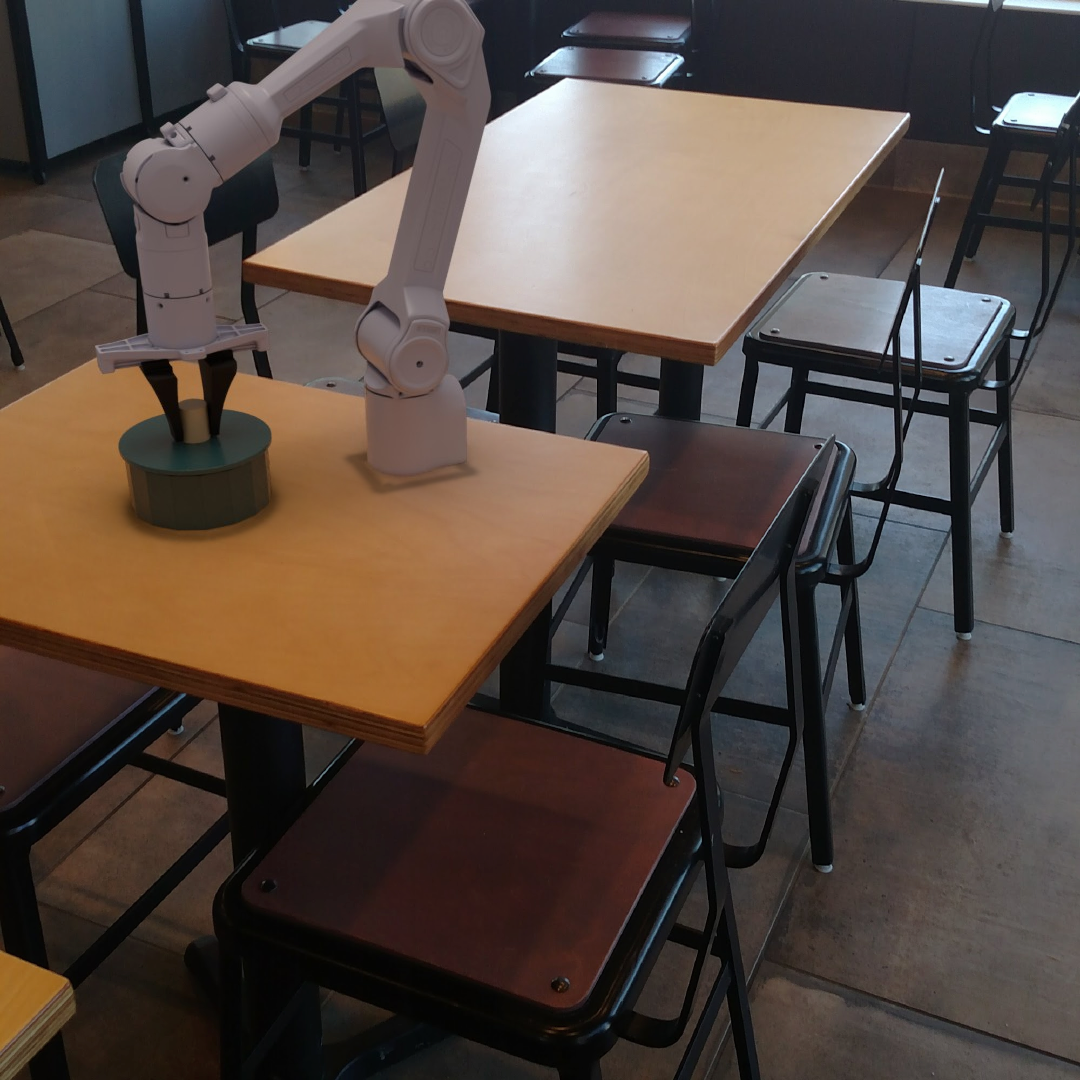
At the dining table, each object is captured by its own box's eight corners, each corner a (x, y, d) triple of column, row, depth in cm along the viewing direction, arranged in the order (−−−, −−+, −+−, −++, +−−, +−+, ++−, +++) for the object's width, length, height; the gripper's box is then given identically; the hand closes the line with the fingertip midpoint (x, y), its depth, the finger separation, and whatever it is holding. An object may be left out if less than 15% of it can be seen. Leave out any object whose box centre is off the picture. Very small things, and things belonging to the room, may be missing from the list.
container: (250, 464, 123) (244, 409, 120) (288, 518, 114) (283, 460, 111) (121, 487, 118) (112, 430, 115) (149, 547, 109) (141, 486, 106)
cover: (249, 409, 121) (245, 367, 119) (291, 465, 111) (287, 419, 109) (106, 433, 116) (99, 388, 113) (137, 493, 105) (130, 446, 103)
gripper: (97, 313, 100) (121, 466, 106) (275, 291, 106) (286, 437, 112) (82, 287, 105) (105, 435, 112) (251, 268, 111) (264, 409, 118)
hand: (195, 434), depth 113 cm, fingers closed on cover, 2 cm apart
